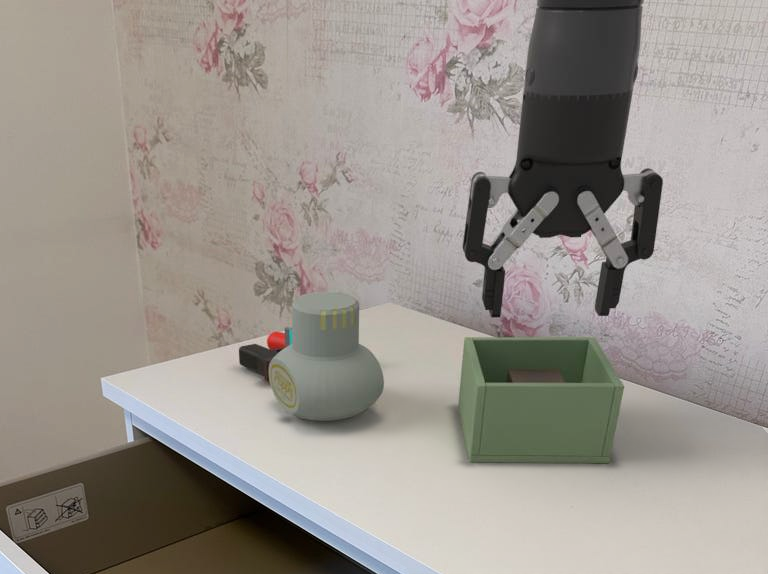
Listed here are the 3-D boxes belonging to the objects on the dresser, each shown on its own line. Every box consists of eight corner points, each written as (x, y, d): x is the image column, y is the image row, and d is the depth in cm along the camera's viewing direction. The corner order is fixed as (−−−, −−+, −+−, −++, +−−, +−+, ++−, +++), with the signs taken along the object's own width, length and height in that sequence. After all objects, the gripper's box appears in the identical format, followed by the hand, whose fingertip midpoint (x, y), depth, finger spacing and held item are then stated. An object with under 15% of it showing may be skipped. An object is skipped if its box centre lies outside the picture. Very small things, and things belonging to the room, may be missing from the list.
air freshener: (392, 424, 85) (397, 311, 79) (307, 440, 82) (307, 325, 76) (340, 382, 93) (341, 278, 87) (262, 396, 90) (258, 290, 85)
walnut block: (552, 417, 84) (559, 369, 81) (560, 438, 80) (568, 388, 78) (502, 417, 84) (507, 369, 82) (508, 437, 81) (514, 388, 78)
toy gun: (373, 368, 96) (374, 320, 93) (265, 390, 92) (264, 340, 89) (329, 340, 103) (329, 294, 100) (227, 359, 99) (224, 312, 96)
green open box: (582, 408, 87) (595, 337, 83) (609, 463, 78) (624, 386, 74) (457, 407, 87) (464, 337, 84) (469, 462, 78) (477, 385, 74)
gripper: (667, 74, 69) (626, 299, 79) (471, 79, 70) (454, 300, 80) (696, 87, 63) (648, 329, 73) (482, 92, 64) (462, 330, 74)
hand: (547, 314), depth 76 cm, fingers open, 8 cm apart
